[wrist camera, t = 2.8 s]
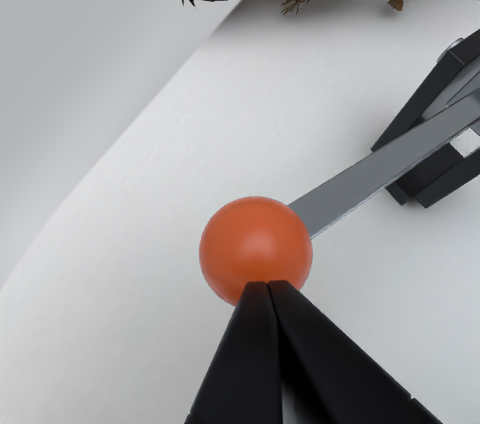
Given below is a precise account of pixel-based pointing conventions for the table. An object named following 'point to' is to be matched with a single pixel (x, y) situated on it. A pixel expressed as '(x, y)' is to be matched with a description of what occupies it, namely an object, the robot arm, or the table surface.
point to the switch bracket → (424, 107)
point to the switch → (318, 206)
